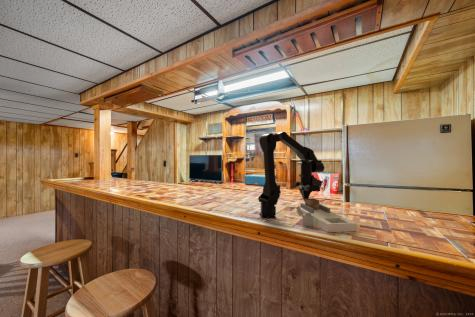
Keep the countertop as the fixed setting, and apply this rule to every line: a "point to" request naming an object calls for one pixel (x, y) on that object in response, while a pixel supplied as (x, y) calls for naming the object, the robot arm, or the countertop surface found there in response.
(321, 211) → the pale grey tray
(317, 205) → the block
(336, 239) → the countertop surface
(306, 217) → the lighter
